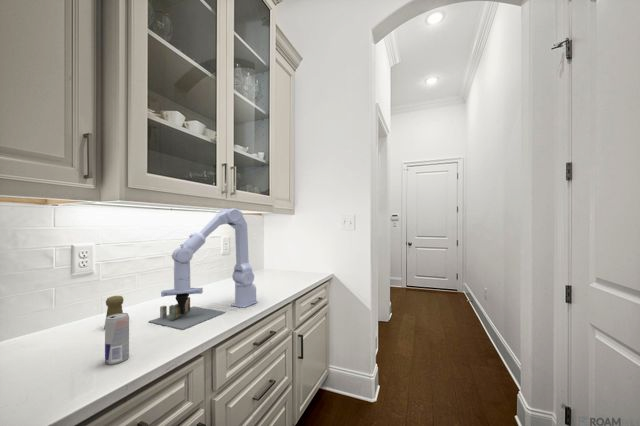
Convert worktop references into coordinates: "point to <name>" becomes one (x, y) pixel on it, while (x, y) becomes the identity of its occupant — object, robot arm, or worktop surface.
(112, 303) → the cork
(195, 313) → the mat
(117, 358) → the energy drink
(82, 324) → the worktop surface
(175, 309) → the gate
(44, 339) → the worktop surface
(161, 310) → the post
